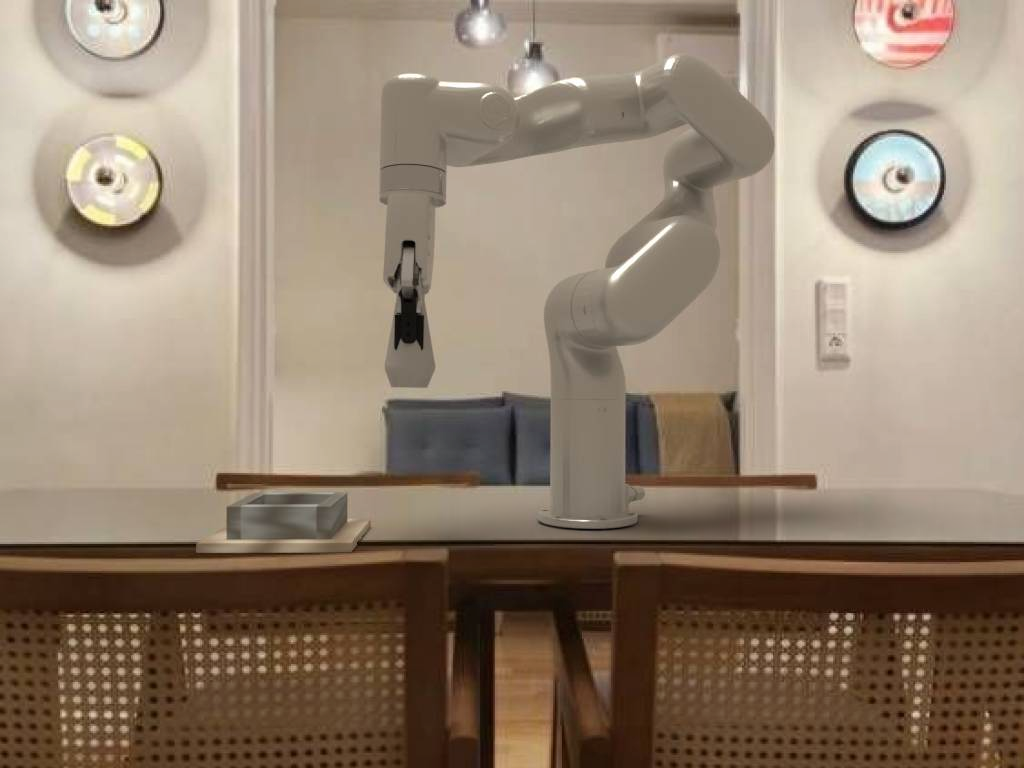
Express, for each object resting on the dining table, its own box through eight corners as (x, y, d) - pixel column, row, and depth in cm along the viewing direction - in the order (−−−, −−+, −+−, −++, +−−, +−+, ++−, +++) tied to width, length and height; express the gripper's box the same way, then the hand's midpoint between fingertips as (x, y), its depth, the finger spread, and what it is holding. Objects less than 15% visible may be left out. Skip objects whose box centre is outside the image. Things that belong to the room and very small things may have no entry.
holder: (370, 526, 103) (370, 490, 102) (351, 552, 88) (351, 509, 87) (238, 527, 102) (238, 490, 102) (196, 552, 87) (196, 509, 87)
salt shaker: (439, 387, 98) (441, 276, 98) (430, 387, 92) (432, 269, 92) (390, 386, 98) (391, 275, 98) (378, 387, 92) (380, 269, 92)
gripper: (387, 204, 103) (384, 353, 103) (371, 170, 87) (367, 347, 87) (448, 205, 103) (445, 355, 103) (443, 172, 87) (440, 349, 87)
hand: (410, 350), depth 95 cm, fingers closed on salt shaker, 3 cm apart
